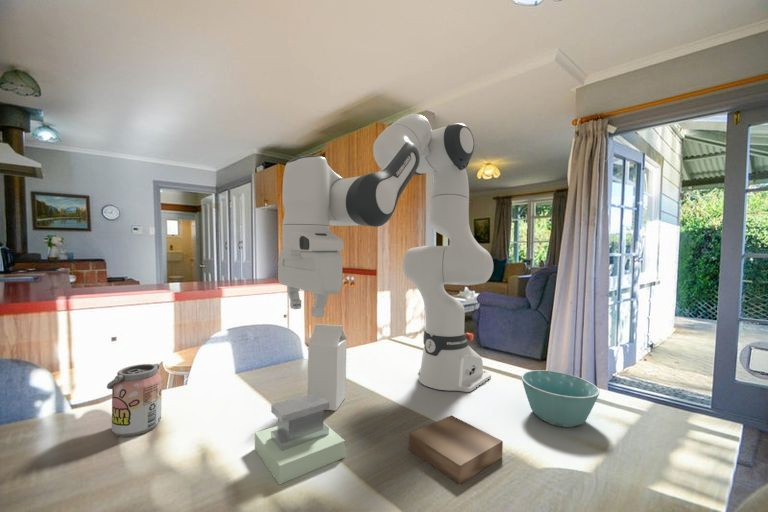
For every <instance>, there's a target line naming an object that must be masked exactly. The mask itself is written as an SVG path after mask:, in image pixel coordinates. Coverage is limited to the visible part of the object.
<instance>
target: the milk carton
mask: <svg viewBox="0 0 768 512" xmlns="http://www.w3.org/2000/svg"><path fill="white" fill-rule="evenodd" d="M347 342H348V341H347V337H346V334H345V332H344V330H343V325H336V324H335V325H334V324H321V323H314V329H313V332H312V333H311V336H310V338H309V342H308V346H307V347H308V353H307V354H308V355H307V357H308V358H307V395H311V394H314V393H318V394H319V395H321V396H322V397H323V398H325V399H326V400H327V401H329V409H326V410H327V411H337V410H338V409H339V407H340V406H341V404H342V403H343V401H345V399H346V389H347V388H346V387H347V386H346V385H347V384H346V383H347V382H346V381H347ZM326 410H325V411H326Z"/></svg>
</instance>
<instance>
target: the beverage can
mask: <svg viewBox="0 0 768 512" xmlns="http://www.w3.org/2000/svg"><path fill="white" fill-rule="evenodd" d="M159 368H160V364H159V363H155V364H154V363H153V364H152V363H144V364H143V363H142V364H134V365H131V366H126V367H124V368H122V369H120V370H118V371H117V373H116V376H115V377H114V379H112V380H111V381H110V382H109V383H107V385H106V389H108V390H111V396H112V397H111V430H112V431H111V432H112V433H113V434H114V435H116V436H117V437H121V438H122V437H123V438H127V437H136V436H139V435H144V434H146V433H148V432H150V431H152V430H153V429H155V428H156V427H157V426H158V425H159V424H160V423H161V420H162V388H163V387H162V386H163V385H162V381H163V378H162V376H161V375H160V373H158V370H159Z"/></svg>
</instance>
